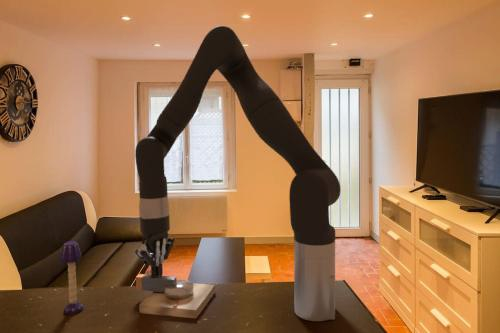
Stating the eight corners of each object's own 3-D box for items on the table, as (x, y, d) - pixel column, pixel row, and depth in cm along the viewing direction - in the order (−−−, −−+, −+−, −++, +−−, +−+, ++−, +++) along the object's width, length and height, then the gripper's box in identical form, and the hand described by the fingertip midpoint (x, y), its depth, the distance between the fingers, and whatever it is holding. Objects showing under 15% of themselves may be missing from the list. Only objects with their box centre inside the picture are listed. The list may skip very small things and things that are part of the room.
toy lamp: (89, 307, 92) (85, 240, 90) (76, 316, 87) (71, 246, 86) (72, 305, 93) (68, 239, 91) (58, 314, 89) (53, 245, 87)
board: (215, 292, 99) (214, 283, 99) (196, 318, 86) (195, 308, 85) (165, 288, 102) (165, 279, 102) (139, 312, 89) (139, 303, 88)
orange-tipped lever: (197, 288, 96) (197, 274, 96) (187, 300, 90) (186, 285, 89) (145, 284, 100) (144, 270, 99) (131, 295, 93) (130, 280, 92)
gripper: (160, 207, 106) (162, 267, 108) (124, 217, 94) (127, 285, 96) (181, 210, 102) (184, 271, 104) (147, 221, 91) (150, 290, 92)
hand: (157, 278), depth 100 cm, fingers closed
